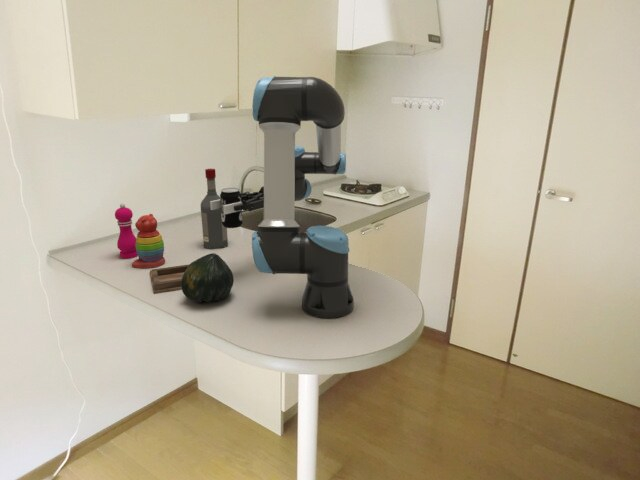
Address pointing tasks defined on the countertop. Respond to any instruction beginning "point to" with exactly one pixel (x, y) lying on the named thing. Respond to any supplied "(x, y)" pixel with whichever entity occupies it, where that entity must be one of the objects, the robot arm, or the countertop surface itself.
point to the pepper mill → (125, 233)
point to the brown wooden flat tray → (167, 278)
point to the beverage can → (228, 198)
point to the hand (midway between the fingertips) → (217, 207)
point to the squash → (207, 279)
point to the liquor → (212, 217)
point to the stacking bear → (148, 243)
